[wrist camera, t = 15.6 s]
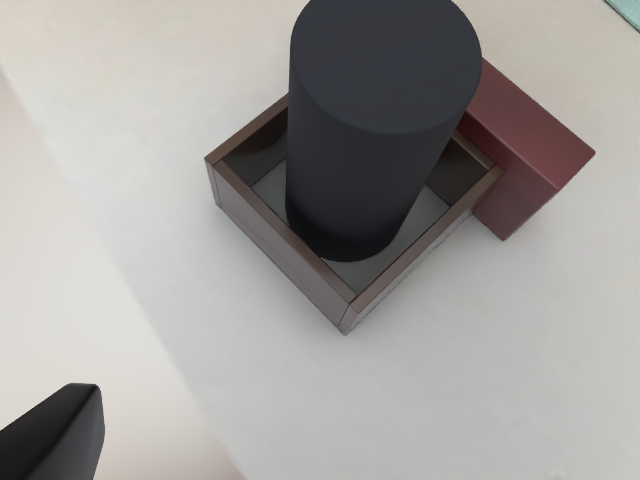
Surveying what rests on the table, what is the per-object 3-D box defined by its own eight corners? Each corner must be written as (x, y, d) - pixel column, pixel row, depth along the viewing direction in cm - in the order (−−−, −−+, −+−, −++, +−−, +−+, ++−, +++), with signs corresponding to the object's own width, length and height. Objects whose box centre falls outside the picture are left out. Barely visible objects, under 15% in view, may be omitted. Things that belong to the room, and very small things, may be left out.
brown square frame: (378, 370, 19) (406, 349, 15) (186, 173, 21) (164, 106, 17) (536, 208, 22) (597, 151, 18) (351, 46, 24) (367, -41, 20)
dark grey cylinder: (418, 246, 21) (513, 111, 13) (302, 275, 20) (320, 153, 12) (381, 143, 22) (445, -41, 14) (272, 167, 22) (269, -12, 13)
